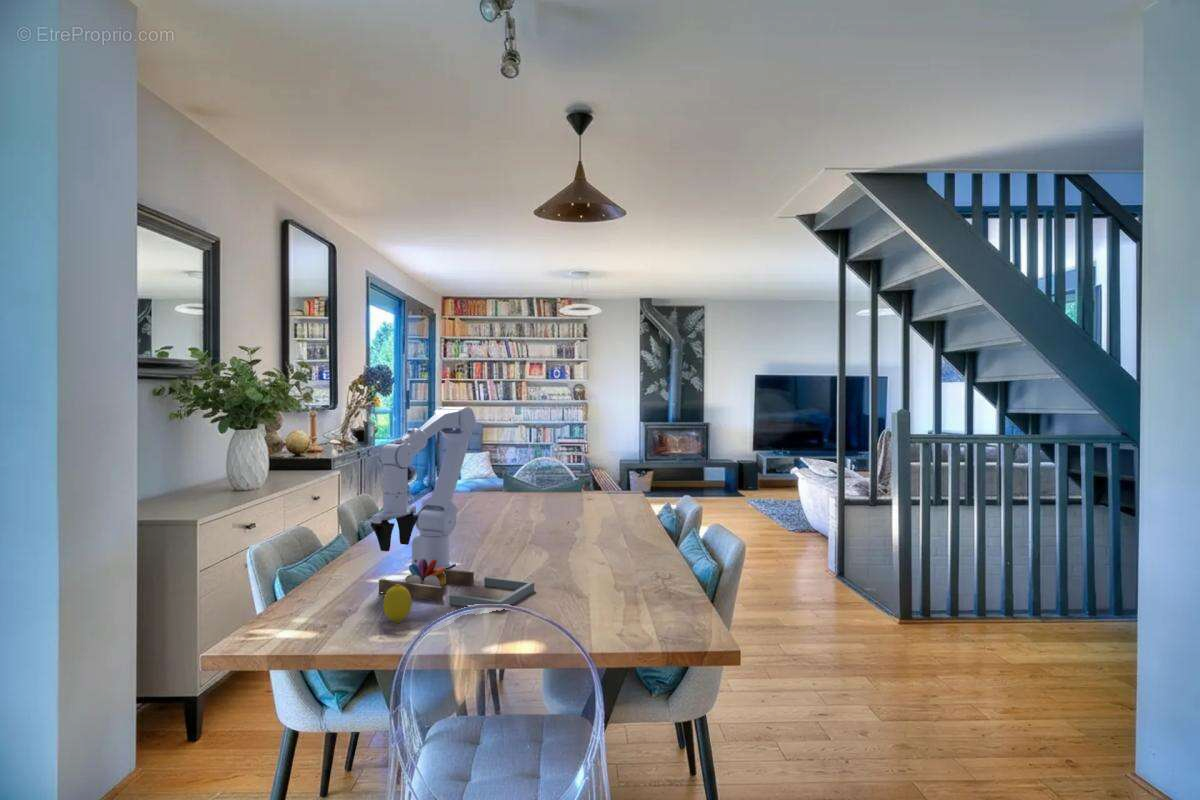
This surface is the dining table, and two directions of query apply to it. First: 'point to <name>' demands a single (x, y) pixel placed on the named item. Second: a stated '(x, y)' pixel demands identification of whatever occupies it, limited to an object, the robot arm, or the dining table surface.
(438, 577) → the multicolored rounded disc cluster
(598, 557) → the dining table surface
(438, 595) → the lane rails
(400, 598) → the lemon
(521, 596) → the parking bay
